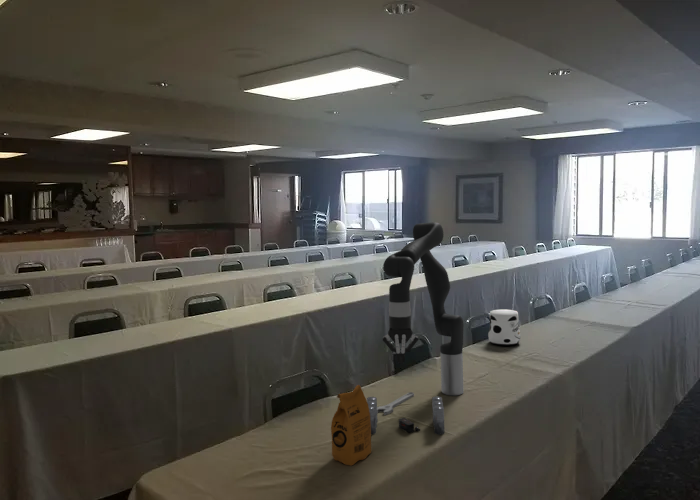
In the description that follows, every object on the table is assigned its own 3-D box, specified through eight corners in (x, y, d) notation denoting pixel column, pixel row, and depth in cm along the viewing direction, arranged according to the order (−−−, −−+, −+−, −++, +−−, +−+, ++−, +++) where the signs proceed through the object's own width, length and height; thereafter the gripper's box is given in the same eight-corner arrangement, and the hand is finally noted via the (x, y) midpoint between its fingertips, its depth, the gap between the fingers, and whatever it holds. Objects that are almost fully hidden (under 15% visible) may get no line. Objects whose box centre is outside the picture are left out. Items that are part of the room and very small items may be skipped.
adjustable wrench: (410, 395, 221) (409, 391, 221) (422, 398, 217) (422, 394, 217) (371, 413, 203) (371, 409, 203) (384, 417, 199) (384, 413, 199)
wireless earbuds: (409, 435, 182) (409, 426, 182) (398, 427, 188) (398, 419, 188) (420, 431, 184) (420, 422, 184) (408, 424, 191) (408, 416, 190)
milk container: (526, 346, 286) (525, 313, 284) (496, 348, 283) (495, 316, 282) (512, 338, 303) (511, 308, 301) (483, 340, 301) (483, 310, 299)
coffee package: (327, 459, 167) (324, 392, 165) (353, 445, 176) (350, 381, 174) (350, 468, 160) (347, 399, 158) (376, 453, 169) (373, 387, 168)
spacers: (368, 419, 196) (367, 396, 196) (442, 419, 193) (441, 396, 192) (365, 434, 184) (364, 409, 183) (445, 434, 181) (444, 409, 180)
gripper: (419, 312, 183) (419, 360, 184) (381, 312, 185) (382, 360, 186) (419, 316, 176) (420, 366, 177) (380, 316, 178) (381, 366, 179)
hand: (400, 363), depth 181 cm, fingers closed
